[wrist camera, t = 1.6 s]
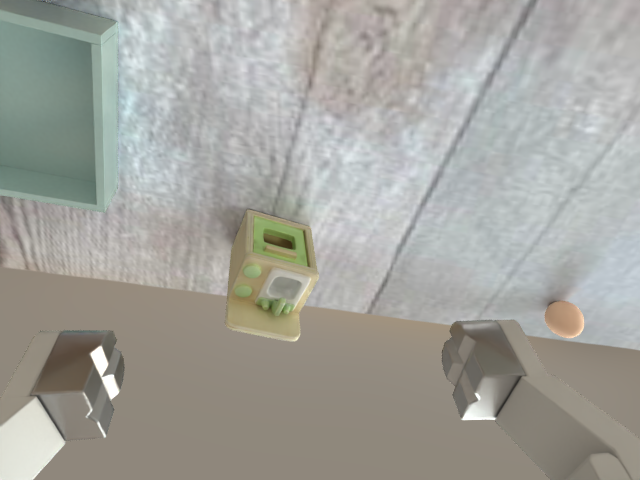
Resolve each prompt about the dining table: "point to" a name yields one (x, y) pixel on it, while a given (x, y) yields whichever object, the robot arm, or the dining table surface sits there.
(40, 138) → the green tray
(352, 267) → the dining table surface
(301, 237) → the toy sink
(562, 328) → the egg
